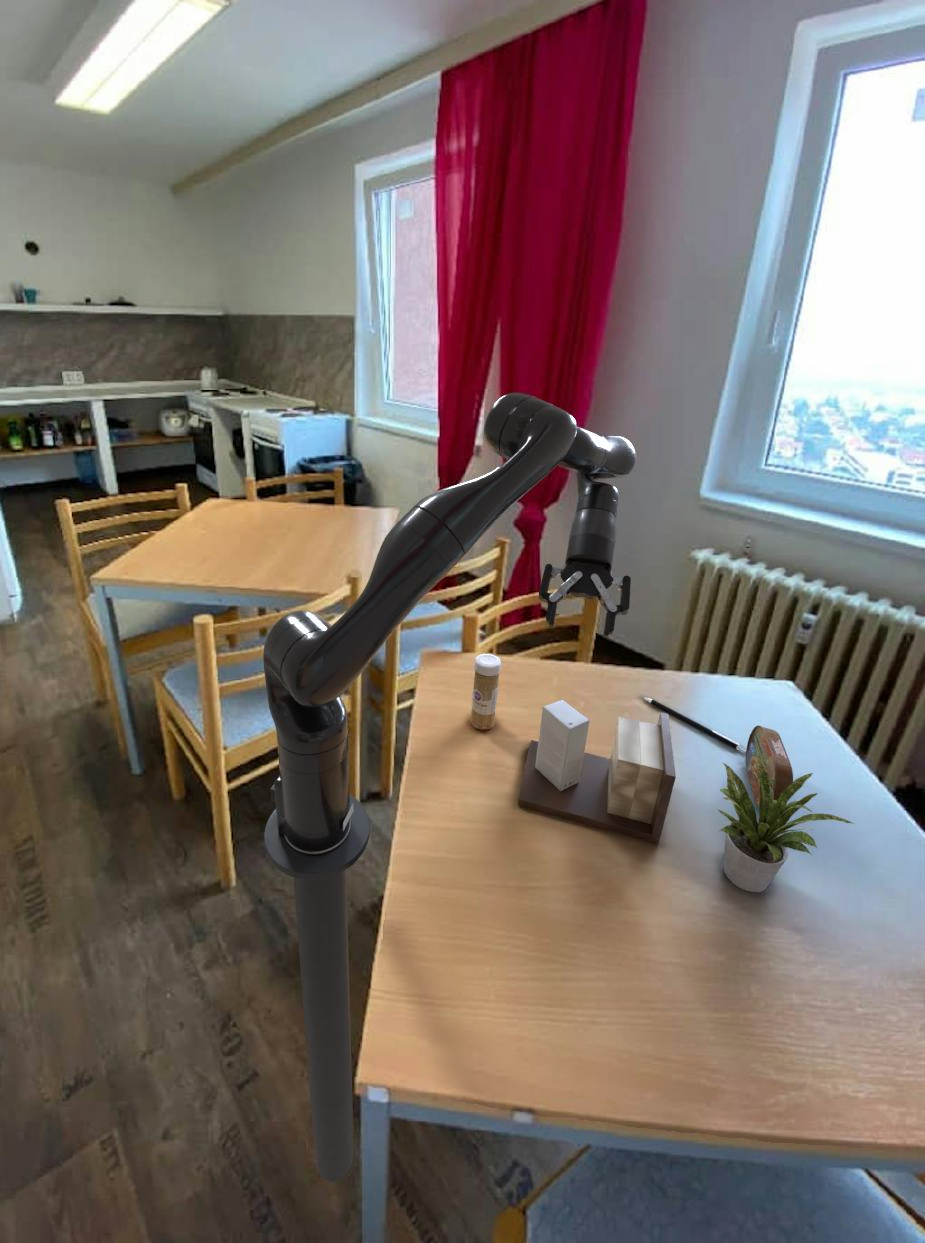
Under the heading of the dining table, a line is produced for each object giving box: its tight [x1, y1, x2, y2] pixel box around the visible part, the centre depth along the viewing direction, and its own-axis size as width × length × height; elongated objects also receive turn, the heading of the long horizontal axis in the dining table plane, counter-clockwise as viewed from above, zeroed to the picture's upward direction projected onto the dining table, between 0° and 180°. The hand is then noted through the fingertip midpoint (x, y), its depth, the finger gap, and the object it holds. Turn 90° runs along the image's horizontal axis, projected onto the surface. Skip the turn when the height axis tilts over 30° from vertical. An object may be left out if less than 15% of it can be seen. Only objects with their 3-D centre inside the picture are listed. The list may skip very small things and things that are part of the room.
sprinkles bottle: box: [469, 653, 502, 731], centre depth 103 cm, size 5×5×14 cm
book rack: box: [517, 712, 677, 844], centre depth 89 cm, size 20×14×12 cm
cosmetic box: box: [535, 699, 590, 791], centre depth 90 cm, size 6×4×12 cm
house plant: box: [717, 751, 855, 893], centre depth 75 cm, size 14×14×16 cm
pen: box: [643, 696, 746, 754], centre depth 106 cm, size 1×19×1 cm, turn 39°
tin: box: [744, 725, 794, 808], centre depth 91 cm, size 15×3×8 cm, turn 161°
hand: (578, 631), depth 94 cm, fingers open, 8 cm apart
